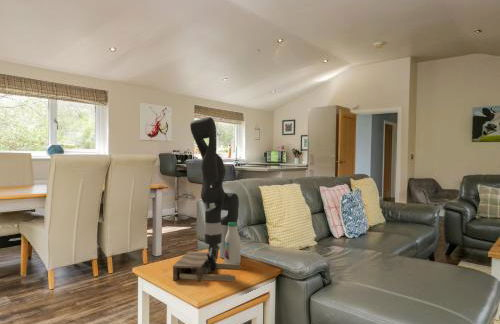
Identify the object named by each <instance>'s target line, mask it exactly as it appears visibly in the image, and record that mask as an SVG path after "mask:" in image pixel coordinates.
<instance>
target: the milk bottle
mask: <svg viewBox="0 0 500 324" xmlns="http://www.w3.org/2000/svg"><path fill="white" fill-rule="evenodd" d="M241 253H242V252H241V237H240V234H239V231H238V221H237V222H228V232H227V234H226V237H225V259H224V263H228V264H241V261H242V260H241Z"/></svg>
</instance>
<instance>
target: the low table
mask: <svg viewBox="0 0 500 324" xmlns="http://www.w3.org/2000/svg"><path fill="white" fill-rule="evenodd" d="M208 253H209V252H208V251H187V252H186V253H185V254H183V256H182V257H181V258H180V259H178V260H177V261H176V262H175V263H174V264H173V265H172V280H173V281H176V282H177V281H178V278H179V279H180V280H197V281H196V282H199V283H200V282H202V281H223V282H236V275H232V274H230V275H227V274H209V273H207V274H205V273H203V274H202V266H203V265H204V264H205V263H206V261H207V260H208V257H207V254H208ZM191 268H197V274H195V273H185V271H186V269H191ZM216 269H233V270H241V263H240V264H228V263H225V262H224V263H223V262H216Z"/></svg>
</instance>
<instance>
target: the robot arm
mask: <svg viewBox="0 0 500 324" xmlns="http://www.w3.org/2000/svg"><path fill="white" fill-rule="evenodd" d="M190 131H191V135H192V137H193V140H194V142H195V143H196V146H197V149H198V151H199V152H200V155H201V156H200V157H201V159H202V161H201V172H202V184H201V185H202V186H201V191H200V192H201V193H200V199H201V201H202V203H204V204H207V205H208V204H213V206H211V207H209V208H207V209H206V210H205V213H204V216H205V217H204V243H205V244H206V245H208V247H207V252H209V253H208V254H207V257H208V260H209V263H211V271H214V272H216V270H217V268H216V263H218V262H217V261H218V256H219V258H221V259H224V260H225V237H226V234H227V232H228V222H237V223H238V220H239V207H240V204H239V203H240V200H239V199H240V198H239V195H238V194H237V193H234V192H225V190H224V187H223V182H224V180H225V176H226V168H225V164H224V160H223V157H221V156H220V155H219V154H218V153H217V145H218V144H217V125H216V122H215V120H214V118H213V117H211V116H210V117H204V118H200V119H195V120H192V121H191V122H190ZM205 139H208V144H207V143H206V141H205ZM222 211H227V215H226V216H222Z"/></svg>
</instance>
